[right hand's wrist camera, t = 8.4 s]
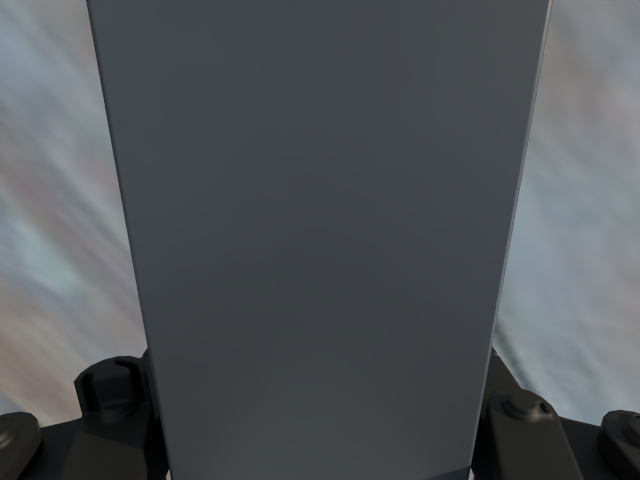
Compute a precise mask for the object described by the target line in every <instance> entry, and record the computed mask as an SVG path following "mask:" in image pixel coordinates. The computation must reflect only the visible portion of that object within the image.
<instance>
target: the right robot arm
mask: <svg viewBox="0 0 640 480" xmlns="http://www.w3.org/2000/svg"><path fill="white" fill-rule="evenodd" d="M74 385H75V389H76V392H77V396H78V400H79V404H80V408H81V411H82V417H81V418H79V419H76V420H72V421H69V422H64V423H60V424H56V425H51V426H47V427H43V428H40V427H39V424H38V421H37V418H36V417H34V416H33V415H32V414H31V413H25V412H15V413H7V414H4V415H1V416H0V480H167V479H166V475H167V473H168V470H169V464H168V459H167V453H166V447H165V442H164V436H163V430H162V425H161V419H160V414H159V408H158V402H157V397H156V391H155V385H154V380H153V374H152V368H151V363H150V357H149V351H148V348H147V349H146V351H145V352H144V354H143V357H141V358H136V357H132V356H117V357H113V358H109V359H105V360H102V361H100V362H98V363H96V364H93V365H91V366H90V367H88V368H87V369H86V370H84V371H83V372H81V373H80V374H79V376H78V377H77V378H76V380H75V381H74ZM471 469H472V472H473V474H474V479H473V480H640V414H639V413H636V412H631V411H624V410H616V411H610V412H608V413H607V414H606V415H605V416H604V417H603V420H602V423H601V426H596V425H592V424H587V423H583V422H579V421H574V420H570V419H566V418H563V417H560V416H558V414H557V413H556V411H555V410H554V408H553V407H552V405H550V404H549V403H548V402H547V401H546V400H544V399H543V398H542V397H540V396H538V395H536V394H534V393H532V392H530V391H528V390H525V389H521V387H520V386H519V384H518V383H517V381H516V380H515V379H514V377H513V376H512V374H511V373H510V371H509V370H508V368H507V367H506V366H505V364H504V363H503V361H502V360H501V358H500V357H499V356H497V352H496V351H495V350H494V348H493V347H492V349H491V354H490V360H489V365H488V371H487V377H486V382H485V388H484V394H483V399H482V405H481V411H480V416H479V422H478V428H477V433H476V439H475V445H474V450H473V456H472V462H471Z"/></svg>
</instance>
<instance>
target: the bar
mask: <svg viewBox="0 0 640 480" xmlns="http://www.w3.org/2000/svg"><path fill="white" fill-rule="evenodd" d="M86 2H87V7H88V13H89V19H90V24H91V30H92V35H93V41H94V47H95V52H96V58H97V64H98V69H99V75H100V81H101V86H102V92H103V98H104V103H105V109H106V114H107V120H108V126H109V131H110V137H111V143H112V148H113V154H114V160H115V165H116V171H117V177H118V182H119V188H120V193H121V199H122V205H123V210H124V216H125V222H126V227H127V233H128V239H129V244H130V250H131V256H132V261H133V267H134V272H135V278H136V284H137V289H138V295H139V301H140V306H141V312H142V318H143V323H144V329H145V335H146V340H147V346H148V351H149V357H150V363H151V368H152V374H153V380H154V385H155V391H156V397H157V402H158V408H159V414H160V419H161V425H162V430H163V436H164V442H165V447H166V453H167V459H168V464H169V470H170V476H171V480H468V479H469V473H470V467H471V462H472V456H473V450H474V445H475V439H476V433H477V428H478V422H479V416H480V411H481V405H482V399H483V394H484V388H485V382H486V377H487V371H488V365H489V360H490V354H491V349H492V343H493V337H494V332H495V326H496V320H497V315H498V309H499V303H500V298H501V292H502V286H503V281H504V275H505V269H506V264H507V258H508V252H509V247H510V241H511V235H512V230H513V224H514V218H515V213H516V207H517V202H518V196H519V190H520V185H521V179H522V173H523V168H524V162H525V156H526V151H527V145H528V139H529V134H530V128H531V122H532V117H533V111H534V105H535V100H536V94H537V88H538V83H539V77H540V71H541V66H542V60H543V55H544V49H545V43H546V38H547V32H548V26H549V21H550V15H551V9H552V4H553V0H86Z"/></svg>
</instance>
